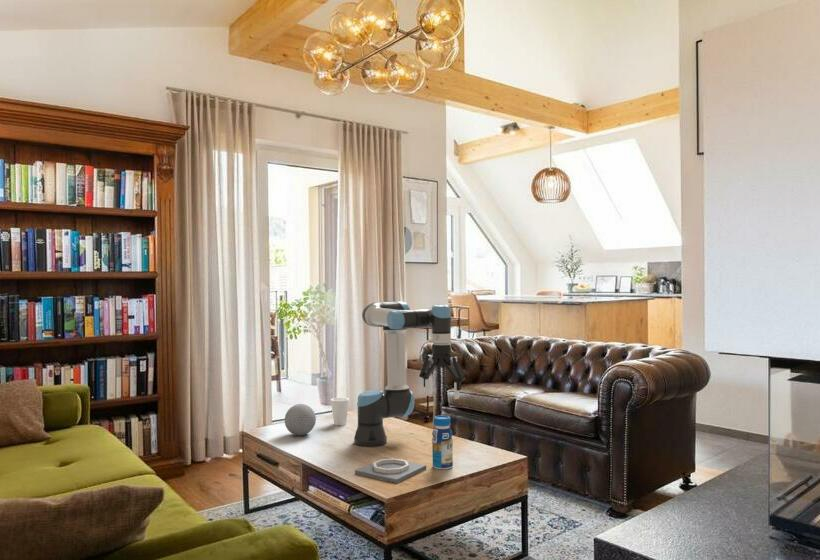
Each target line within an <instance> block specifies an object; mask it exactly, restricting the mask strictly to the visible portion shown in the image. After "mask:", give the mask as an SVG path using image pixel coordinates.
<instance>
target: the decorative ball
mask: <svg viewBox="0 0 820 560" xmlns="http://www.w3.org/2000/svg"><path fill="white" fill-rule="evenodd" d="M316 421H317V417H316V413H315V411H314V409H313V407H310V405H307V404H304V403H297V404H294V405H292V406H291V407H290V408H289V409H288V410H287V411H286V413H285V416H284V425H285V427H286V429H287V431H288V432H289V433H291V434H292V435H294V436H305V435H308V434H309V433H310V432H311V431H312V430H313V429H314V427H315V426H316V423H317V422H316Z"/></svg>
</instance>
